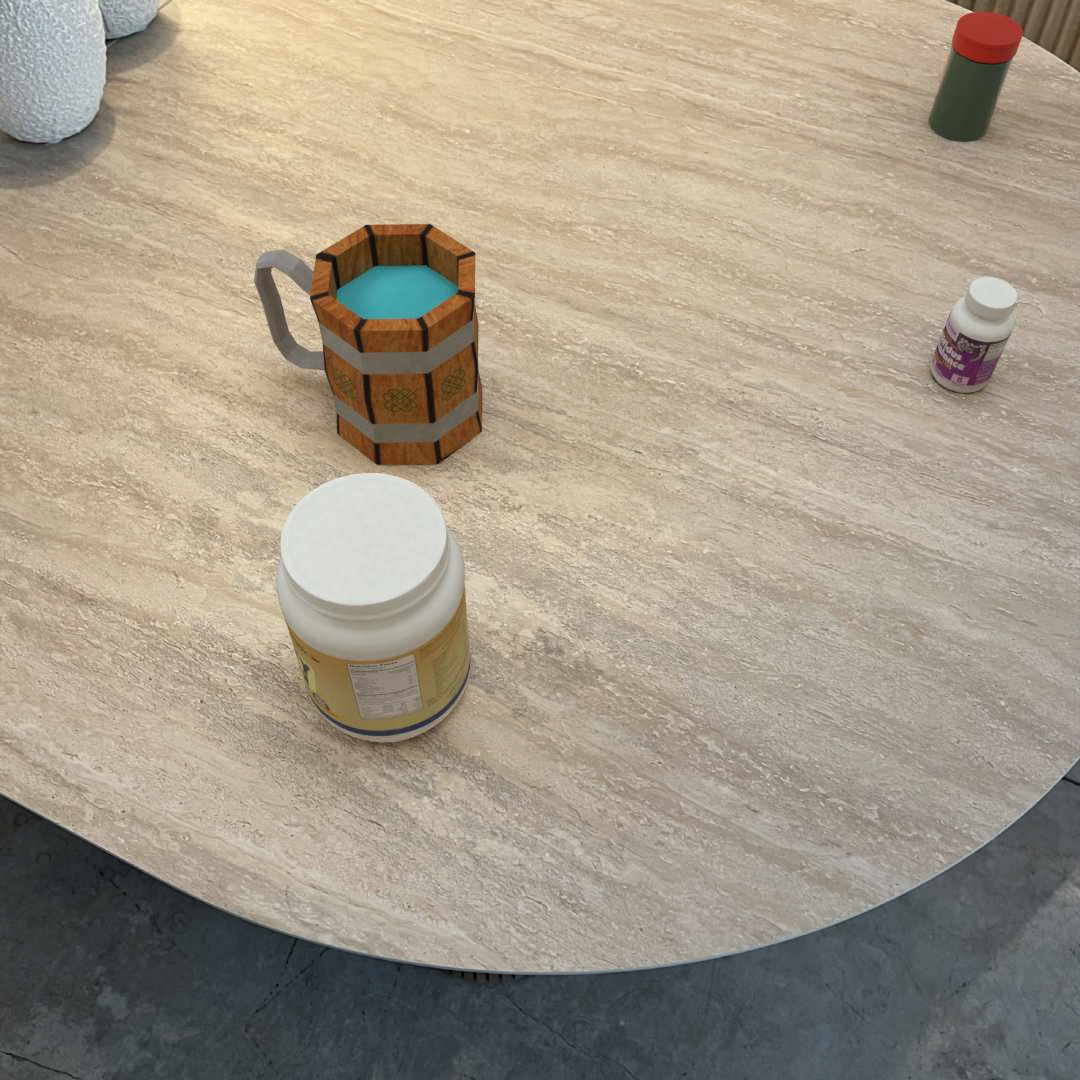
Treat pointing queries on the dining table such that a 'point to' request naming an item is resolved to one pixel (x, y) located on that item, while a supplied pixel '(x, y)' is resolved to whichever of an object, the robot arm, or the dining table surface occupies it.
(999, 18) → the lid
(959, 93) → the jar
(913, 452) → the dining table surface
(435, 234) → the mug
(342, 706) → the supplement tub
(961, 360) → the pill bottle
